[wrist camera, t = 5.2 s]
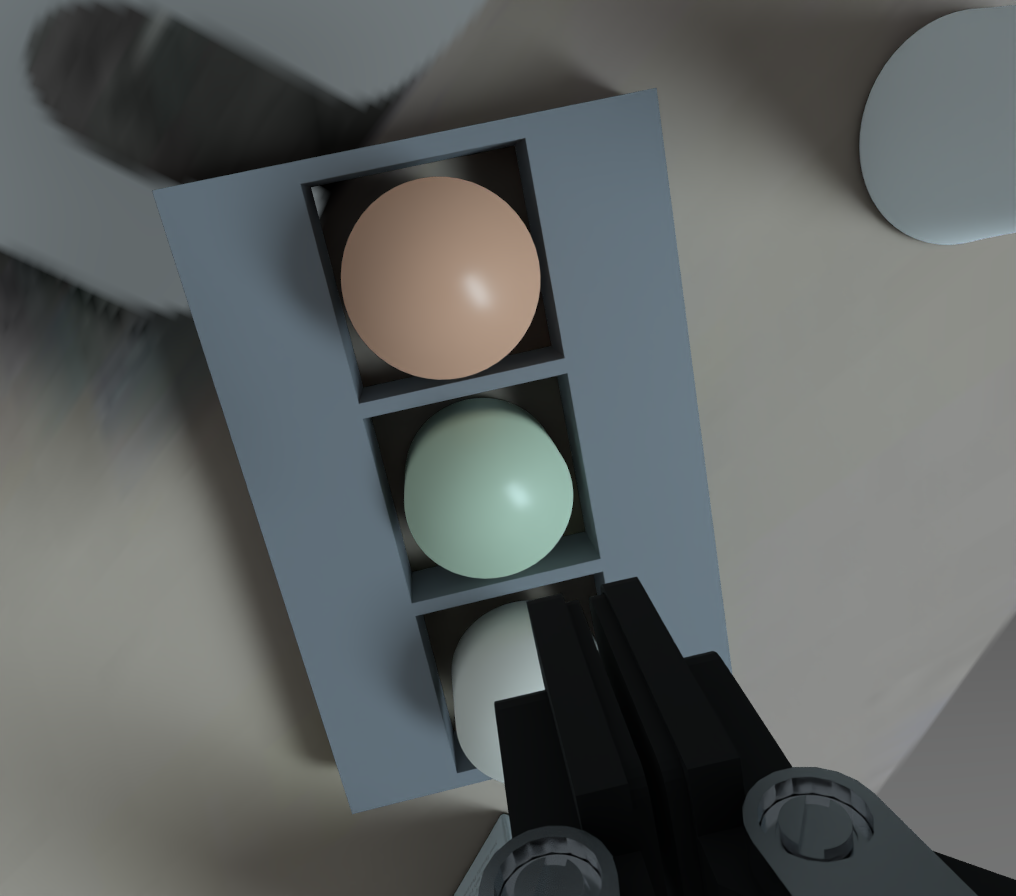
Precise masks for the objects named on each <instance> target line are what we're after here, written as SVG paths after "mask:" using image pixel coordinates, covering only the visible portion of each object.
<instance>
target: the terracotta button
mask: <svg viewBox="0 0 1016 896" xmlns="http://www.w3.org/2000/svg"><path fill="white" fill-rule="evenodd" d="M341 287H342V294H343V299H344V304H345V307H346V310H347V313H348V316H349V318H350V320H351V322H352V324H353V326H354V328H355V330H356V331H357V333H358V334H359V336H360V337H361V339H362V340H363V341H364V342H365V343H366V345H367V346H368V347H369V348H370V349H371V350H372V351H373V352H374V353H375V354H376V355H377V356H379V357H380V358H381V359H382V360H384V361H385V362H387V363H388V364H390V365H391V366H393V367H395V368H397V369H399V370H401V371H403V372H406V373H408V374H411V375H414V376H418V377H422V378H428V379H438V380H441V379H456V378H462V377H466V376H470V375H473V374H476V373H478V372H481V371H483V370H485V369H487V368H489V367H491V366H492V365H494V364H496V363H497V362H499V361H500V360H501V359H503V358H504V357H505V356H506V355H508V354H509V353H510V351H511V350H512V349H513V348H514V347H515V346H516V345H517V344H518V343H519V341H520V340H521V339H522V337H523V336H524V334H525V333H526V331H527V329H528V327H529V326H530V324H531V321H532V319H533V316H534V314H535V311H536V307H537V304H538V300H539V292H540V267H539V260H538V256H537V252H536V248H535V245H534V243H533V240H532V238H531V235H530V233H529V232H528V230H527V228H526V226H525V224H524V223H523V221H522V220H521V219H520V217H519V216H518V215H517V213H516V212H515V211H514V210H513V209H512V208H511V207H510V206H509V205H508V204H507V203H506V202H505V201H504V200H502V199H501V198H500V197H499V196H497V195H496V194H494V193H493V192H491V191H489V190H488V189H486V188H484V187H482V186H480V185H477V184H475V183H473V182H469V181H466V180H462V179H458V178H451V177H427V178H420V179H416V180H413V181H409V182H406V183H403V184H401V185H399V186H397V187H394V188H393V189H391V190H389V191H388V192H386V193H384V194H383V195H381V196H380V197H379V198H378V199H377V200H375V201H374V202H373V203H372V204H371V205H370V206H369V207H368V208H367V209H366V210H365V211H364V213H363V214H362V215H361V217H360V218H359V220H358V221H357V222H356V224H355V226H354V228H353V230H352V232H351V234H350V235H349V238H348V241H347V244H346V246H345V249H344V254H343V259H342V267H341Z"/></svg>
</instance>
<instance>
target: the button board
mask: <svg viewBox="0 0 1016 896" xmlns="http://www.w3.org/2000/svg"><path fill="white" fill-rule="evenodd" d="M513 145H515V150H516V155H517V160H518V166H519V171H520V177H521V182H522V188H523V193H524V199H525V204H526V209H527V215H528V220H529V226H530V231H531V237H532V240H533V243H534V245H535V248H536V252H537V256H538V260H539V267H540V286H541V291H542V297H543V302H544V307H545V313H546V318H547V324H548V329H549V335H550V340H551V345H552V346H550V347H545V348H541V349H536V350H532V351H527V352H523V353H518V354H514V355H509V356H505V357H504V358H503V359H501V360H500V361H499V362H497V363H496V364H494V365H492V366H491V367H489V368H487V369H485V370H483V371H481V372H478V373H476V374H473V375H470V376H466V377H462V378H456V379H441V380H438V379H428V378H422V377H418V376H414V377H410V378H405V379H400V380H396V381H391V382H387V383H382V384H378V385H373V386H369V387H364V388H363V384H362V380H361V377H360V373H359V369H358V365H357V361H356V358H355V354H354V350H353V346H352V342H351V338H350V335H349V331H348V327H347V323H346V319H345V316H344V312H343V308H342V304H341V300H340V297H339V293H338V289H337V285H336V281H335V277H334V274H333V270H332V266H331V262H330V258H329V255H328V251H327V247H326V243H325V239H324V236H323V232H322V228H321V224H320V220H319V216H318V213H317V209H316V205H315V201H314V197H313V194H312V190H311V187H314V186H319V185H324V184H329V183H334V182H338V181H343V180H348V179H353V178H358V177H363V176H368V175H372V174H377V173H382V172H387V171H392V170H397V169H402V168H406V167H411V166H416V165H421V164H426V163H431V162H436V161H441V160H445V159H450V158H455V157H460V156H465V155H470V154H475V153H479V152H484V151H489V150H494V149H499V148H504V147H509V146H513ZM152 192H153V195H154V199H155V201H156V204H157V208H158V211H159V214H160V217H161V220H162V223H163V227H164V229H165V232H166V236H167V239H168V242H169V245H170V248H171V251H172V255H173V258H174V261H175V264H176V267H177V270H178V273H179V276H180V279H181V283H182V286H183V289H184V292H185V295H186V298H187V301H188V304H189V307H190V311H191V314H192V317H193V320H194V323H195V326H196V329H197V332H198V335H199V339H200V342H201V345H202V348H203V351H204V354H205V357H206V360H207V363H208V367H209V370H210V373H211V376H212V379H213V382H214V385H215V388H216V391H217V395H218V398H219V401H220V404H221V407H222V410H223V413H224V416H225V419H226V423H227V426H228V429H229V432H230V435H231V438H232V441H233V444H234V447H235V451H236V454H237V457H238V460H239V463H240V466H241V469H242V472H243V475H244V479H245V482H246V485H247V488H248V491H249V494H250V497H251V500H252V503H253V507H254V510H255V513H256V516H257V519H258V522H259V525H260V528H261V531H262V535H263V538H264V541H265V544H266V547H267V550H268V553H269V556H270V559H271V562H272V566H273V569H274V572H275V575H276V578H277V581H278V584H279V587H280V590H281V594H282V597H283V600H284V603H285V606H286V609H287V612H288V615H289V618H290V622H291V625H292V628H293V631H294V634H295V637H296V640H297V643H298V646H299V650H300V653H301V656H302V659H303V662H304V665H305V668H306V671H307V674H308V678H309V681H310V684H311V687H312V690H313V693H314V696H315V699H316V702H317V706H318V709H319V712H320V715H321V718H322V721H323V724H324V727H325V730H326V734H327V737H328V740H329V743H330V746H331V749H332V752H333V755H334V758H335V762H336V765H337V768H338V771H339V774H340V777H341V780H342V783H343V786H344V790H345V793H346V796H347V799H348V802H349V805H350V808H351V811H352V814H355V813H359V812H363V811H367V810H371V809H375V808H379V807H383V806H387V805H391V804H395V803H399V802H403V801H407V800H410V799H414V798H418V797H422V796H426V795H430V794H434V793H438V792H442V791H446V790H450V789H454V788H458V787H462V786H466V785H470V784H474V783H478V782H482V781H486V780H490V779H492V778H491V777H489V776H487V775H485V774H484V773H482V772H481V771H480V770H478V769H477V768H476V767H475V766H474V765H473V764H472V763H471V762H470V760H469V759H468V758H467V756H466V755H465V753H464V752H463V750H462V748H461V746H460V743H459V740H458V737H457V731H453V728H452V724H451V720H450V716H449V712H448V708H447V705H446V701H445V697H444V693H443V689H442V686H441V682H440V678H439V674H438V670H437V666H436V663H435V659H434V655H433V651H432V647H431V644H430V640H429V636H428V632H427V628H426V625H425V621H424V617H423V614H426V613H431V612H435V611H439V610H443V609H447V608H452V607H456V606H460V605H464V604H468V603H473V602H477V601H481V600H485V599H489V598H494V597H498V596H502V595H506V594H510V593H515V592H519V591H523V590H527V589H531V588H536V587H540V586H544V585H548V584H552V583H557V582H561V581H565V580H569V579H573V578H578V577H582V576H586V575H590V574H594V580H595V585H596V590H597V595H601V589H600V586H601V584H606V583H610V582H614V581H619V580H623V579H628V578H632V577H638V579H639V580H640V582H641V584H642V585H643V587H644V589H645V591H646V592H647V594H648V596H649V598H650V600H651V601H652V603H653V605H654V607H655V608H656V610H657V612H658V614H659V615H660V617H661V619H662V621H663V622H664V624H665V626H666V628H667V629H668V631H669V633H670V635H671V637H672V638H673V640H674V642H675V644H676V645H677V647H678V649H679V651H680V652H681V654H682V656H683V658H684V657H689V656H693V655H697V654H701V653H706V652H710V651H715V652H717V653H718V655H719V656H720V657H721V658H722V660H723V661H724V663H725V664H726V666H727V667H728V669H729V670H730V672H731V674H732V668H731V661H730V653H729V645H728V638H727V630H726V622H725V614H724V607H723V599H722V591H721V583H720V576H719V568H718V560H717V552H716V545H715V537H714V529H713V522H712V514H711V506H710V498H709V491H708V483H707V475H706V467H705V460H704V452H703V444H702V436H701V429H700V421H699V413H698V406H697V398H696V390H695V382H694V375H693V367H692V359H691V351H690V344H689V336H688V328H687V321H686V313H685V305H684V297H683V290H682V282H681V274H680V266H679V259H678V251H677V243H676V235H675V228H674V220H673V212H672V205H671V197H670V189H669V181H668V174H667V166H666V158H665V150H664V143H663V135H662V127H661V119H660V112H659V104H658V96H657V89H656V88H653V89H648V90H643V91H638V92H634V93H629V94H624V95H619V96H614V97H609V98H604V99H599V100H594V101H589V102H584V103H580V104H575V105H570V106H565V107H560V108H555V109H550V110H545V111H540V112H535V113H530V114H526V115H521V116H516V117H511V118H506V119H501V120H496V121H491V122H486V123H481V124H476V125H471V126H467V127H462V128H457V129H452V130H447V131H442V132H437V133H432V134H427V135H422V136H417V137H413V138H408V139H403V140H398V141H393V142H388V143H383V144H378V145H373V146H368V147H363V148H358V149H354V150H349V151H344V152H339V153H334V154H329V155H324V156H319V157H314V158H309V159H304V160H300V161H295V162H290V163H285V164H280V165H275V166H270V167H265V168H260V169H255V170H250V171H245V172H241V173H236V174H231V175H226V176H221V177H216V178H211V179H206V180H201V181H196V182H191V183H187V184H182V185H177V186H172V187H167V188H162V189H157V190H152ZM553 376H557V378H558V384H559V389H560V394H561V400H562V405H563V411H564V416H565V422H566V427H567V433H568V438H569V443H570V449H571V454H572V460H573V465H574V471H575V476H576V482H577V487H578V492H579V498H580V503H581V509H582V514H583V520H584V525H585V531H586V532H581V533H577V534H573V535H569V536H564V537H561V538H560V540H559V541H558V543H557V544H556V545H555V546H554V548H553V549H552V550H551V551H550V552H549V553H548V554H547V555H546V556H545V557H544V558H542V559H541V560H540V561H538V562H537V563H536V564H534V565H532V566H530V567H529V568H527V569H525V570H523V571H520V572H518V573H515V574H512V575H509V576H505V577H499V578H487V579H483V578H472V577H467V576H463V575H460V574H456V573H453V572H451V571H449V570H447V569H445V568H443V567H442V566H436V567H432V568H428V569H424V570H419V571H415V572H412V571H411V567H410V564H409V560H408V556H407V552H406V548H405V544H404V541H403V537H402V533H401V529H400V525H399V522H398V518H397V514H396V510H395V506H394V502H393V499H392V495H391V491H390V487H389V483H388V480H387V476H386V472H385V468H384V464H383V461H382V457H381V453H380V449H379V445H378V441H377V438H376V434H375V430H374V426H373V422H372V419H371V417H373V416H378V415H382V414H387V413H391V412H396V411H400V410H405V409H409V408H414V407H418V406H423V405H427V404H432V403H436V402H441V401H445V400H449V399H454V398H458V397H463V396H467V395H472V394H476V393H481V392H485V391H490V390H494V389H499V388H503V387H508V386H512V385H517V384H521V383H526V382H530V381H535V380H539V379H544V378H548V377H553Z"/></svg>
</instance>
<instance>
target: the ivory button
mask: <svg viewBox="0 0 1016 896" xmlns="http://www.w3.org/2000/svg"><path fill="white" fill-rule="evenodd" d="M527 601H531V600H527ZM591 634H592V633H591ZM592 637H593V639H594V636H593V634H592ZM594 642H595V644H596V647H597V643H596V641H595V639H594ZM597 650H598V647H597ZM451 674H452V688H453V699H454V711H455V722H456V731H457V737H458V740H459V743H460V746H461V748H462V750H463V752H464V753H465V755H466V756H467V758H468V759H469V760H470V762H471V763H472V764H473V765H474V766H475V767H476V768H477V769H478V770H480V771H481V772H482V773H484V774H485V775H487V776H489V777H491V778H492V779H494V780H497V781H499V782H502V783H504V775H503V768H502V761H501V753H500V746H499V738H498V731H497V724H496V716H495V708H494V701H499V700H503V699H507V698H512V697H516V696H520V695H525V694H529V693H533V692H538V691H542V690H545V688H544V683H543V678H542V674H541V669H540V664H539V660H538V655H537V650H536V646H535V641H534V636H533V632H532V627H531V622H530V618H529V613H528V608H527V603H526V601H518V602H512V603H508V604H505V605H502V606H500V607H497V608H495V609H493V610H491V611H489V612H487V613H486V614H484V615H483V616H481V617H480V618H479V619H477V620H476V621H475V622H474V623H473V624H472V625H471V626H470V627H469V628H468V629H467V631H466V632H465V633H464V634H463V636H462V638H461V639H460V641H459V643H458V645H457V647H456V649H455V652H454V656H453V659H452V667H451Z"/></svg>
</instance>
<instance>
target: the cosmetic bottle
mask: <svg viewBox="0 0 1016 896" xmlns="http://www.w3.org/2000/svg"><path fill="white" fill-rule="evenodd" d="M859 152H860V163H861V169H862V174H863V178H864V181H865V184H866V187H867V190H868V192H869V194H870V196H871V198H872V200H873V202H874V203H875V205H876V207H877V208H878V210H879V211H880V212H881V213H882V215H883V216H884V217H885V218H886V219H887V220H888V221H889V222H890V223H891V224H892V225H893V226H894V227H896V228H897V229H899V230H900V231H902V232H903V233H904V234H906V235H909V236H911V237H913V238H915V239H917V240H921V241H924V242H927V243H933V244H940V245H954V244H963V243H968V242H972V241H976V240H981V239H985V238H990V237H995V236H1000V235H1005V234H1011V233H1016V5H1009V6H1000V7H990V8H977V9H967V10H962V11H958V12H954V13H951V14H948V15H946V16H943V17H941V18H939V19H937V20H935V21H933V22H931V23H929V24H927V25H926V26H924V27H923V28H921V29H920V30H918V31H917V32H916V33H914V34H913V35H912V36H911V37H910V38H909V39H907V40H906V41H905V42H904V43H903V44H902V45H901V46H900V47H899V48H898V49H897V50H896V51H895V53H894V54H893V55H892V56H891V58H890V59H889V60H888V62H887V63H886V64H885V66H884V67H883V69H882V71H881V72H880V74H879V76H878V77H877V79H876V81H875V83H874V85H873V87H872V89H871V92H870V94H869V97H868V100H867V103H866V105H865V109H864V113H863V117H862V122H861V129H860V142H859Z"/></svg>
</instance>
